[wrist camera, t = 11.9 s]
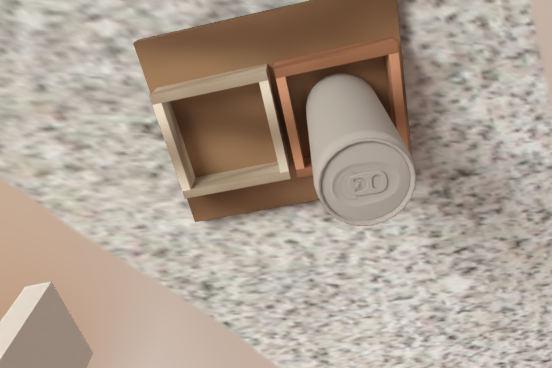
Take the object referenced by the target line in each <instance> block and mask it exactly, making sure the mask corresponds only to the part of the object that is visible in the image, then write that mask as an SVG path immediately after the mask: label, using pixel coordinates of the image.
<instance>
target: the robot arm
mask: <svg viewBox="0 0 552 368" xmlns="http://www.w3.org/2000/svg"><path fill="white" fill-rule="evenodd" d="M92 354H93V352H92V350H91V349H90V347H89V345H88V343H87V342H86V340H85V338H84V337H83V335H82V333H81V332H80V330H79V328H78V327H77V325H76V323H75V321H74V319H73V318H72V316H71V314H70V313H69V311H68V309H67V307H66V306H65V304H64V302H63V301H62V299H61V297H60V295H59V294H58V292H57V290H56V289H55V287H54V285H53V284H52V282H46V283H41V284H36V285H31V286H26V287H25V288H24V289H23V291H22V292H21V293H20V295H19V296H18V298H17V299H16V301H15V302H14V303H13V305H12V306H11V308H10V309H9V310H8V312H7V313H6V314H5V316H4V317H3V318H2V320H1V321H0V368H86V367H87V365H88V363H89V361H90V358H91V356H92Z"/></svg>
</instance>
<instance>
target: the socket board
mask: <svg viewBox="0 0 552 368" xmlns="http://www.w3.org/2000/svg"><path fill="white" fill-rule="evenodd" d="M134 46H135V49H136V52H137V55H138V58H139V61H140V64H141V67H142V70H143V72H144V75H145V78H146V81H147V84H148V87H149V90H150V93H151V95H150V99H151V102H152V105H153V108H154V111H155V113H156V116H157V119H158V122H159V125H160V128H161V131H162V134H163V136H164V139H165V142H166V145H167V148H168V151H169V154H170V157H171V159H172V162H173V165H174V168H175V171H176V174H177V177H178V180H179V182H180V185H181V188H182V191H183V194H184V197H185V199H186V198H187V200H188V203H189V205H190V208H191V211H192V214H193V217H194V220H195V222H198V221H204V220H209V219H215V218H220V217H226V216H231V215H237V214H242V213H248V212H253V211H259V210H265V209H270V208H276V207H281V206H287V205H292V204H298V203H303V202H309V201H314V200H320V199H319V198H318V195H317V192H316V190H315V187H314V180H313V171H312V162H311V152H310V143H309V134H308V125H307V116H306V103H307V98H308V96H309V94H310V92H311V90H312V88H313V87H314V86H315V85H316V84H317V83H318V82H319V81H320V80H322V79H323V78H325V77H326V76H329V75H332V74H335V73H347V74H351V75H355V76H357V77H359V78H361V79H363V80H365V81H366V82H367V83H368V84H369V85H370V86H371V87H372V89H373V90H374V92H375V94H376V95H377V97H378V99H379V100H380V102H381V104H382V105H383V107H384V109H385V111H386V112H387V114H388V116H389V117H390V119H391V121H392V123H393V124H394V126H395V128H396V129H397V131H398V133H399V135H400V136H401V138H402V140H403V142H404V143H405V145H406V147H407V148H408V150H409V152H410V154H411V145H410V134H409V124H408V114H407V103H406V93H405V83H404V73H403V62H402V52H401V42H400V32H399V21H398V11H397V1H396V0H310V1H306V2H301V3H297V4H293V5H288V6H284V7H280V8H275V9H271V10H266V11H262V12H258V13H253V14H249V15H245V16H240V17H236V18H232V19H227V20H223V21H219V22H214V23H210V24H205V25H201V26H197V27H192V28H188V29H184V30H179V31H175V32H171V33H166V34H162V35H158V36H153V37H149V38H144V39H140V40H137V41H135V42H134Z"/></svg>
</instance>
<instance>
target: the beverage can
mask: <svg viewBox="0 0 552 368" xmlns="http://www.w3.org/2000/svg"><path fill="white" fill-rule="evenodd" d="M306 116H307V125H308V134H309V143H310V152H311V162H312V171H313V180H314V187H315V190H316V192H317V195H318V198H319V199H320V200H321V203H322V204H323V206H324V207H325V209H326V210H327V211H328V212H329V213H330V214H331V215H332V216H334V217H335V218H336V219H338V220H340V221H343V222H345V223H347V224H352V225H358V226H367V225H375V224H378V223H382V222H385V221H387V220H389V219H390V218H392V217H394V216H396V215H397V214H398V213H399V212H400V211H401V210H403V209H404V208H405V206H406V205H407V203H408V202H409V201H410V199H411V197H412V194H413V192H414V189H415V182H416V174H415V166H414V162H413V158H412V155H411V154H410V152H409V150H408V148H407V147H406V145H405V143H404V142H403V140H402V138H401V136H400V135H399V133H398V131H397V129H396V128H395V126H394V124H393V123H392V121H391V119H390V117H389V116H388V114H387V112H386V111H385V109H384V107H383V105H382V104H381V102H380V100H379V99H378V97H377V95H376V94H375V92H374V90H373V89H372V87H371V86H370V85H369V84H368V83H367V82H366V81H365V80H363V79H361V78H359V77H357V76H355V75H351V74H347V73H335V74H332V75H329V76H326V77H325V78H323V79H322V80H320V81H319V82H318V83H317V84H316V85H315V86H314V87H313V88H312V90H311V92H310V94H309V96H308V98H307V103H306Z"/></svg>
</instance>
